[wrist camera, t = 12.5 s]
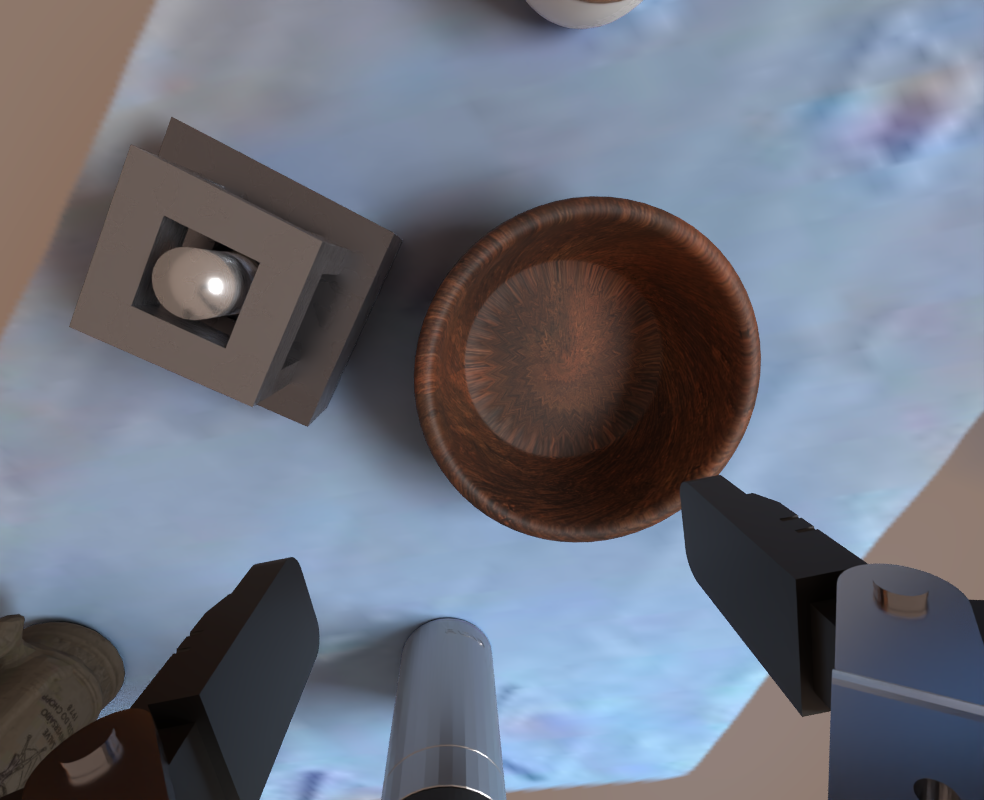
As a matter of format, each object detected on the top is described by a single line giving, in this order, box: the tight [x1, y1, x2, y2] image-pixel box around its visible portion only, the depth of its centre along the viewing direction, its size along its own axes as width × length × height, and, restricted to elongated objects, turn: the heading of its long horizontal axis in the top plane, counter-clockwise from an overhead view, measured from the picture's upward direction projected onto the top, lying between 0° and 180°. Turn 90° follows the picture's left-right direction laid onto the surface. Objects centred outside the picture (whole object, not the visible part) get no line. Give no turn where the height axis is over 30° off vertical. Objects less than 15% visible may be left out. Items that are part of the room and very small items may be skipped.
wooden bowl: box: [414, 196, 761, 542], centre depth 40 cm, size 25×25×10 cm
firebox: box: [69, 117, 403, 427], centre depth 35 cm, size 16×16×13 cm
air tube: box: [152, 247, 260, 320], centre depth 35 cm, size 4×4×14 cm
